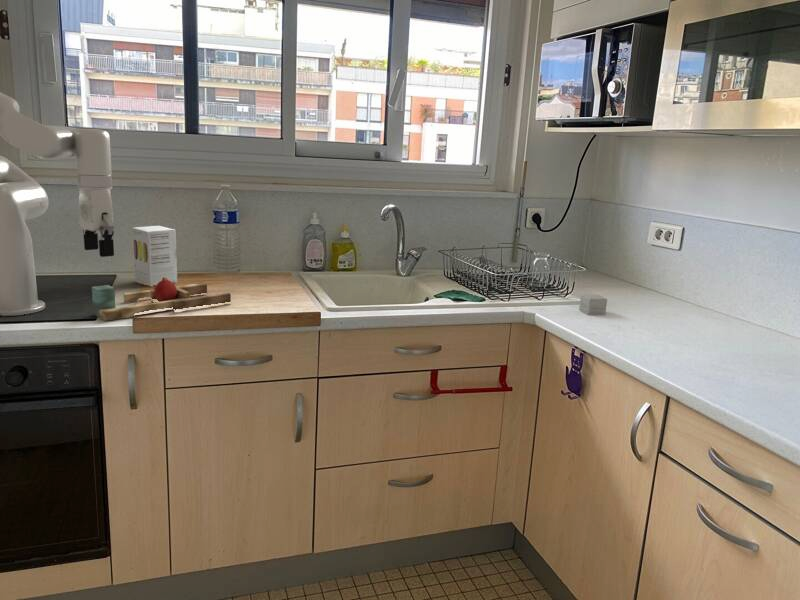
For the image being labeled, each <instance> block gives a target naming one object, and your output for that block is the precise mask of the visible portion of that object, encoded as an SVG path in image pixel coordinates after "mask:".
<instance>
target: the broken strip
mask: <svg viewBox="0 0 800 600" xmlns="http://www.w3.org/2000/svg"><path fill="white" fill-rule="evenodd" d="M193 285H198V283H197V284H196V283H192V284H186V285H185V284H184V285H179V286H178V285H177V286H176V285H175V286H176V287H185V286H193ZM151 291H152V290H149V289H147V290H140V291H134V292H126V293H123V302H124V304H131V303H138V302H137V300H138V299H139V298H144V297H151Z"/></svg>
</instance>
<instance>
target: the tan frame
mask: <svg viewBox="0 0 800 600" xmlns="http://www.w3.org/2000/svg"><path fill="white" fill-rule="evenodd" d="M175 287H176V285H175ZM176 289H177V297H176V299H175V300H168V301H162V302H155V303H153V302H148V303H142V304H137V305H129V306H122V307H116V293H115V287H113V286H111V285H109V284H106V285H105V284H104V285H97V286H96V285H95V286H91V296H92V297H91V298H92V310H93V315H95V316H96V317H98V319H101V320H102V321H105V322H108V321H115V320H121V319H127V318H131V317H132V318H133V316H134V314H135V313H139V312H144V311H149V310H157V309H164V308H172V307H173V301H177V300H183V299H190V298H191V297H190V292H188V291H185V290H183V289H181V288H178V287H176ZM134 317H135V316H134Z"/></svg>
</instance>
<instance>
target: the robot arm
mask: <svg viewBox="0 0 800 600" xmlns="http://www.w3.org/2000/svg"><path fill="white" fill-rule="evenodd" d="M20 112H21V111H20V105H19V103H18V101H16V99H14V98H13V97H11V96H8V95H6V94H5V93H2V92H1V91H0V137H1V138H2V139H3V140H5V141H6V142H7V143H8V144H10V145H11V146H13V147H15V148H17V149H19V150H21V151H23V152H25V153H27V154H29V155H32V156H33V157H36V158H39V159H43V160H65V159H69V160H70V159H75V165H76V167H75V168H76V177H77V179H76V180H77V189H78V225H79V226H80V227H81V228H82V233H83V245H84V246H83V247H84V250H85V251H92V250H93V251H94V250H98V249H99V250H98V251H99V253H98V254H99V257H100V258H101V257H102V258H105V257H113V256H114V255H115V250H114V248H115V247H114V246H115V245H114V239H115V237H114V234H115V232H114V228H115V224H114V223H115V222H114V212H113V201H112V196H111V195H112V194H111V190H113V178H112V177H113V174H112V156H111V153H112V152H111V151H112V150H111V139H110V137H111V136H110V134H109V132H108V131H107V130H104V129H98V128H97V129H96V128H79V127H78V128H77V127H74V126H65V125H63V126H61V125H45V124H42V123H40V122H38V121H36V120H33V119H32V118H30V117H28V116H25V115H24V114H22V113H20ZM49 203H50V201H49V197H48V194H47V191H46V190H45V189H44V187H43V186H41V184H39V183H38V182H37V181H36V180H35V179H33V177H31V176H30V175H29V174H27V173H26V172H25V171H23V170H22V168H20V167H19V166H17V165H16V164H15V163H13V162H12V161H11V160H9V158H6V157H4V156H2V155H0V315H1V316H3V317H5V316H6V317H7V316H8V317H11V316H12V317H13V316H23V315H24V314H25V315H29V314H30V313H31V314H34V313H35V314H36V313H38V312H40V311H43V310H45V308H46V303H45V302H44V301H43V300H41V299H40V300H39V298H38V288H37V278H36V268H35V267H36V266H35V265H36V264H35V257H34V248H33V239H32V235H31V231H30V229H29V227H28V226H27V224H26V220H31V219H35V218H38V217H40V216H42V215H43V214H45V213H46V212H47V210H48V209H49Z"/></svg>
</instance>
